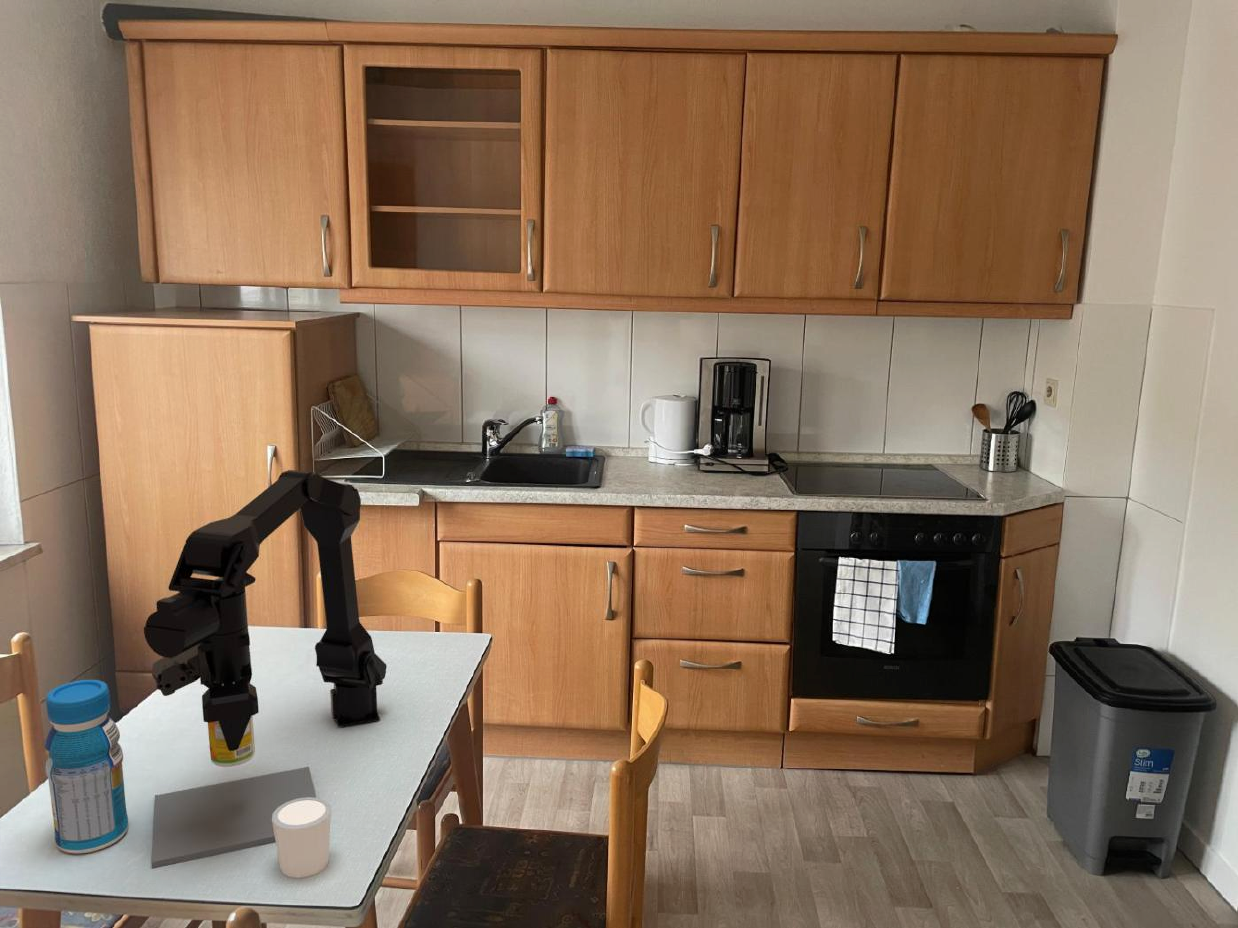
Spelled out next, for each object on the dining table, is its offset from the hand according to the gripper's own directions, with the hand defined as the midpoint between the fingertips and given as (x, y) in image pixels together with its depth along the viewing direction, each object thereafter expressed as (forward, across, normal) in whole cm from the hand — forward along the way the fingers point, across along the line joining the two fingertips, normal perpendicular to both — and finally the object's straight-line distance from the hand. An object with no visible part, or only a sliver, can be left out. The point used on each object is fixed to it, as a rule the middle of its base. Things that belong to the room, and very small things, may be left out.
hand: (232, 739), depth 124 cm
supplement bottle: (+3, 0, 0) cm, 3 cm away
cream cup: (+11, +14, +7) cm, 19 cm away
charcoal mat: (+11, 0, 0) cm, 11 cm away
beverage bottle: (+11, -2, -17) cm, 20 cm away
